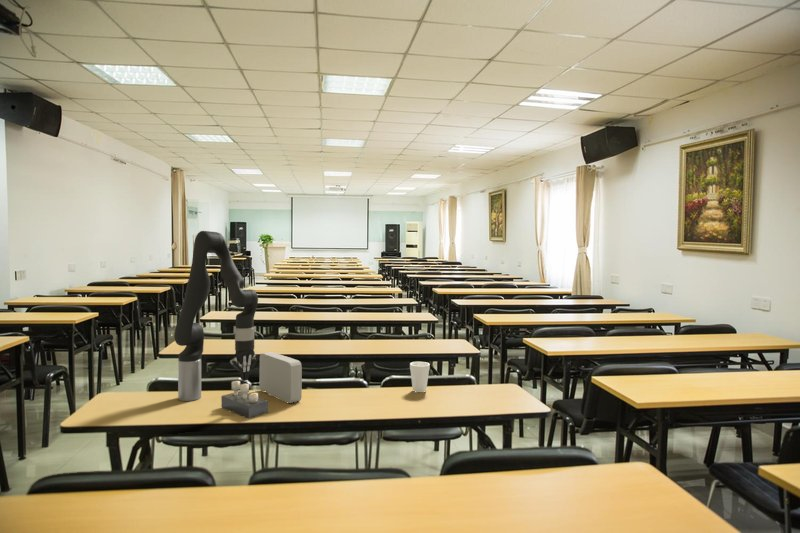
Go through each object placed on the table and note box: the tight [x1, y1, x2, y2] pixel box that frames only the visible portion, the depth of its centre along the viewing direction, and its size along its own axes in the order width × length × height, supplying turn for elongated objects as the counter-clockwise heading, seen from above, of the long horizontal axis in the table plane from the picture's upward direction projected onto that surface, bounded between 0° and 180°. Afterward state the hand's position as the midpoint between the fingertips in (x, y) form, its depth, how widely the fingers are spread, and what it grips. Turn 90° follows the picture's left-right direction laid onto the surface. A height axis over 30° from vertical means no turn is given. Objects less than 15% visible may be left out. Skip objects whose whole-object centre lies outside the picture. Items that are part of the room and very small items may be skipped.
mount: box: [220, 390, 269, 420], centre depth 190 cm, size 20×9×5 cm, turn 51°
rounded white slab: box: [258, 351, 303, 404], centre depth 210 cm, size 29×8×18 cm, turn 44°
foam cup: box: [409, 361, 431, 393], centre depth 220 cm, size 10×9×13 cm
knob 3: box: [248, 392, 259, 403], centre depth 186 cm, size 3×3×8 cm
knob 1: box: [231, 380, 241, 396], centre depth 194 cm, size 3×3×8 cm
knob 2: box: [239, 383, 250, 399], centre depth 190 cm, size 3×3×8 cm
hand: (244, 380), depth 190 cm, fingers closed
